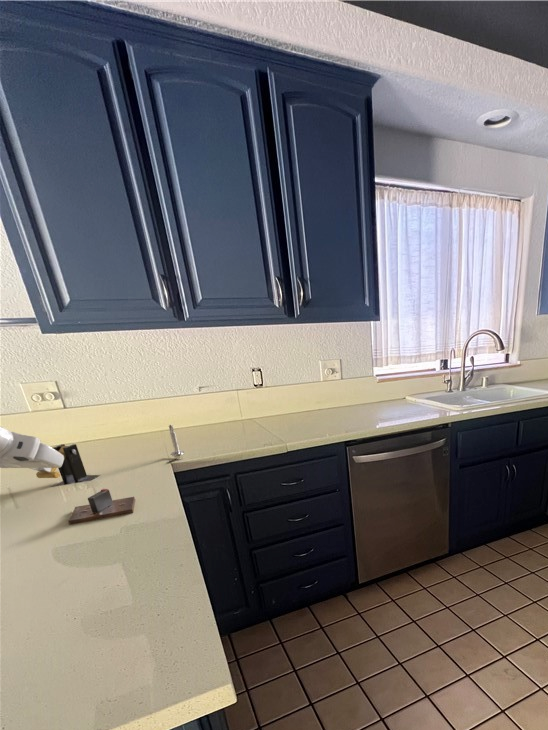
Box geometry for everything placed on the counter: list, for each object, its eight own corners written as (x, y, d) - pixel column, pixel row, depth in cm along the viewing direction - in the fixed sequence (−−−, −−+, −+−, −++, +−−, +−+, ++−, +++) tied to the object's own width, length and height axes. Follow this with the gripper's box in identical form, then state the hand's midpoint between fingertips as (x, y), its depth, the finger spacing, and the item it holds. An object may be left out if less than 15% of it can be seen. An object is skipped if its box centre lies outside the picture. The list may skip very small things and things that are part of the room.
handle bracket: (77, 490, 134) (63, 451, 129) (51, 490, 135) (35, 451, 129) (101, 478, 144) (89, 441, 138) (77, 478, 145) (63, 441, 139)
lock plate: (72, 531, 106) (67, 520, 105) (79, 516, 115) (75, 506, 113) (135, 519, 112) (131, 508, 110) (137, 506, 120) (134, 495, 119)
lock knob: (98, 512, 109) (92, 497, 107) (92, 512, 109) (86, 497, 107) (113, 503, 114) (108, 488, 113) (107, 503, 115) (103, 488, 113)
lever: (58, 479, 129) (52, 474, 127) (40, 479, 129) (34, 474, 127) (78, 451, 136) (74, 445, 134) (61, 451, 137) (56, 445, 135)
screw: (168, 460, 160) (178, 456, 164) (179, 460, 159) (188, 457, 163) (160, 425, 155) (169, 422, 159) (170, 426, 154) (180, 423, 158)
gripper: (-35, 458, 115) (11, 479, 128) (34, 457, 113) (74, 479, 126) (-26, 437, 117) (18, 460, 130) (41, 436, 115) (80, 460, 128)
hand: (46, 470), depth 128 cm, fingers closed, pressing on lever
